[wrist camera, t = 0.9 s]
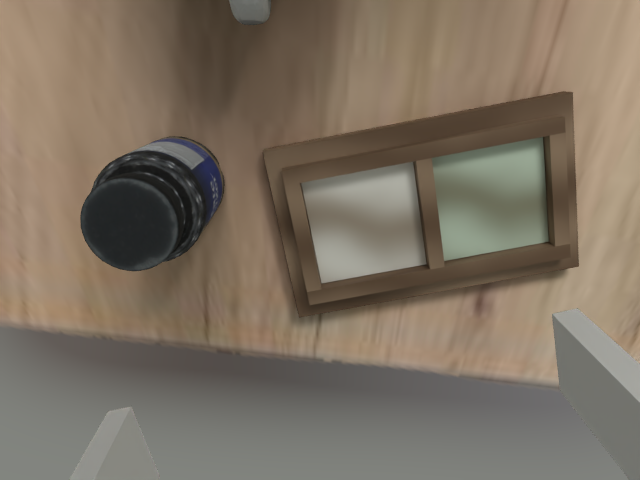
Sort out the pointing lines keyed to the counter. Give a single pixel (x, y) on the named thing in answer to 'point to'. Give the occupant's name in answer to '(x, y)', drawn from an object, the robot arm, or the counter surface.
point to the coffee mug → (251, 11)
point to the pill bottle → (152, 203)
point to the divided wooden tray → (428, 204)
